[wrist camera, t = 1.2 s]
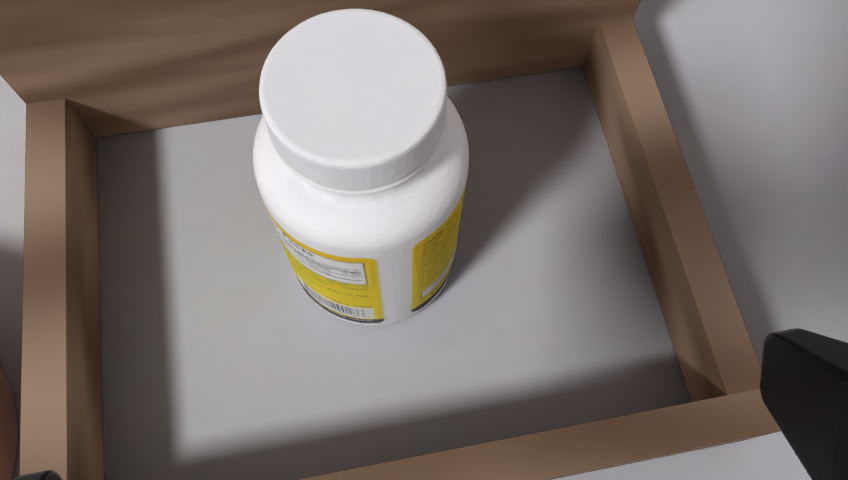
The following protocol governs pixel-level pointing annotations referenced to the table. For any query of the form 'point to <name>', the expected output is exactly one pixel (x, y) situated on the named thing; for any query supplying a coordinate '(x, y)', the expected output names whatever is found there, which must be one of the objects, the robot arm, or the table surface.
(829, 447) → the robot arm
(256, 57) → the brown wooden frame
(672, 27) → the table surface
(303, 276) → the supplement bottle
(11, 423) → the terracotta stand
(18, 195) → the table surface
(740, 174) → the table surface
